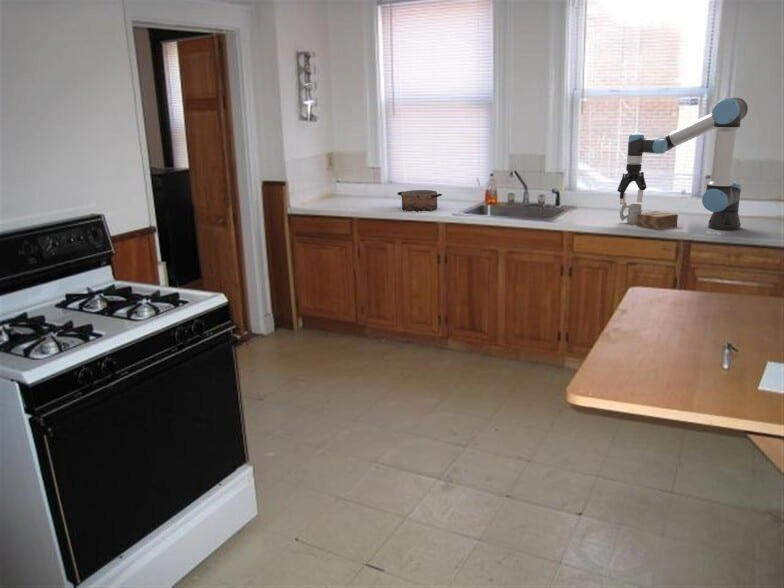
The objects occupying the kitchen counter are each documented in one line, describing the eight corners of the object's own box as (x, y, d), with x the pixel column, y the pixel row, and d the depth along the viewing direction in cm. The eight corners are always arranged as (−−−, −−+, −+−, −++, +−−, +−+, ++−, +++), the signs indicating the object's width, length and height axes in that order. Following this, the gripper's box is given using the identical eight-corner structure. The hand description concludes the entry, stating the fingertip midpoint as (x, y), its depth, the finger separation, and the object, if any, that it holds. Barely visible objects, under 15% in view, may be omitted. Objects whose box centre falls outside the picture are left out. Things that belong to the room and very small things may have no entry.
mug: (643, 224, 380) (644, 201, 377) (620, 224, 381) (622, 202, 378) (639, 221, 388) (641, 199, 384) (617, 221, 389) (618, 199, 385)
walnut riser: (676, 226, 371) (677, 214, 370) (659, 229, 364) (660, 217, 363) (654, 222, 383) (655, 211, 381) (637, 225, 376) (638, 214, 374)
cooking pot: (448, 208, 449) (448, 191, 446) (431, 213, 431) (431, 196, 428) (408, 205, 464) (407, 188, 461) (390, 210, 446) (389, 193, 443)
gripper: (644, 161, 385) (640, 200, 391) (612, 164, 372) (609, 204, 379) (655, 162, 379) (652, 201, 385) (623, 165, 366) (620, 206, 372)
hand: (630, 203), depth 382 cm, fingers open, 13 cm apart
